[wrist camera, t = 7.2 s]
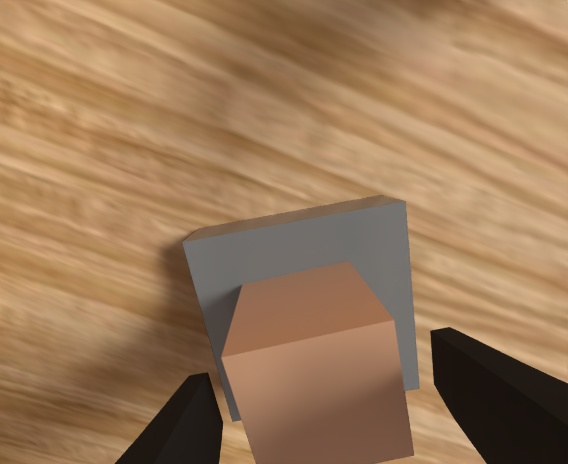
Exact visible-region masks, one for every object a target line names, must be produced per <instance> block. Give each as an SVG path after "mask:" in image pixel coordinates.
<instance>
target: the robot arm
mask: <svg viewBox="0 0 568 464" xmlns="http://www.w3.org/2000/svg"><path fill="white" fill-rule="evenodd" d="M430 333H431V347H432V362H433V376H434V385H435V387H436V388H437V390H438V392H439V394H440V396H441V397H442V399H443V401H444V403H445V404H446V406H447V408H448V409H449V411H450V413H451V414H452V416H453V418H454V419H455V420H456V422H457V423H458V425H459V426H460V428H461V429H462V430H463V432H464V433H465V434H466V436H467V437H468V439H469V440H470V441H471V443H472V444H473V445H474V447H475V448H476V450H477V451H478V452H479V454H480V455H481V456H482V458H483V459H484V460H485V462H486V463H487V464H568V383H566V382H563V381H561V380H559V379H557V378H554V377H552V376H550V375H548V374H546V373H544V372H541V371H539V370H537V369H535V368H533V367H531V366H529V365H527V364H524V363H522V362H520V361H518V360H516V359H514V358H512V357H510V356H508V355H506V354H504V353H502V352H500V351H498V350H496V349H494V348H492V347H490V346H488V345H486V344H484V343H482V342H480V341H478V340H476V339H474V338H472V337H470V336H467V335H465V334H463V333H461V332H459V331H457V330H455V329H453V328H450V327H448V328H442V329H437V330H432V331H430ZM222 430H223V421H222V417H221V414H220V411H219V408H218V404H217V401H216V398H215V394H214V391H213V388H212V384H211V381H210V378H209V374H208V372H207V373H201V374H196V375H191V376H189V377H188V378H187V379H186V380H185V381H184V382H183V384H182V385H181V386H180V387H179V388H178V390H177V391H176V392H175V393H174V394H173V396H172V397H171V398H170V399H169V401H168V402H167V403H166V404H165V406H164V407H163V408H162V409H161V410H160V412H159V413H158V414H157V415H156V416H155V418H154V419H153V420H152V421H151V422H150V424H149V425H148V426H147V427H146V428H145V430H144V431H143V432H142V433H141V434H140V436H139V437H138V438H137V439H136V440H135V441H134V443H133V444H132V445H131V446H130V447H129V448H128V449H127V450H126V451H125V453H124V454H123V455H122V456H121V457H120V458H119V459H118V460H117V462H116V463H115V464H219V458H220V450H221V441H222Z"/></svg>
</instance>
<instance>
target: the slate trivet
mask: <svg viewBox="0 0 568 464" xmlns="http://www.w3.org/2000/svg"><path fill="white" fill-rule="evenodd" d="M182 244H183V247H184V251H185V255H186V258H187V262H188V265H189V269H190V272H191V276H192V280H193V283H194V287H195V290H196V294H197V297H198V301H199V304H200V308H201V312H202V315H203V319H204V322H205V326H206V329H207V333H208V337H209V340H210V344H211V347H212V351H213V354H214V358H215V361H216V365H217V369H218V372H219V376H220V379H221V383H222V386H223V390H224V394H225V397H226V401H227V404H228V408H229V411H230V415H231V419H232V422H234V421H239V420H241V417H240V414H239V410H238V407H237V404H236V401H235V398H234V395H233V392H232V389H231V386H230V383H229V380H228V377H227V374H226V371H225V368H224V365H223V362H222V359H221V356H222V353H223V350H224V346H225V343H226V339H227V336H228V332H229V329H230V326H231V322H232V319H233V315H234V312H235V308H236V305H237V301H238V298H239V295H240V291H241V288H242V285H243V284H247V283H251V282H256V281H260V280H265V279H269V278H273V277H278V276H282V275H287V274H291V273H295V272H300V271H304V270H309V269H313V268H318V267H322V266H327V265H331V264H335V263H340V262H344V261H349V262H350V263H351V265H352V266H353V267H354V269H355V270H356V271H357V272H358V274H359V275H360V276H361V278H362V279H363V280H364V282H365V283H366V284H367V285H368V287H369V288H370V289H371V291H372V292H373V293H374V294H375V296H376V297H377V298H378V300H379V301H380V302H381V304H382V305H383V306H384V307H385V309H386V310H387V311H388V313H389V314H390V315H391V317H392V318H393V319H394V323H395V329H396V336H397V343H398V349H399V356H400V363H401V370H402V376H403V383H404V390H405V391H408V390H413V389H419V375H418V361H417V348H416V334H415V321H414V307H413V294H412V280H411V267H410V254H409V240H408V227H407V213H406V201H403V200H399V199H395V198H392V197H388V196H384V195H378V196H373V197H367V198H362V199H357V200H351V201H346V202H340V203H335V204H329V205H324V206H319V207H313V208H308V209H302V210H297V211H291V212H286V213H281V214H275V215H270V216H264V217H259V218H254V219H248V220H243V221H237V222H232V223H226V224H221V225H216V226H210V227H205V228H199V229H198V230H197V231H195V232H194V233H193V234H192V235H190V236H189V237H188V238H187V239H186V240H184V241H183V242H182Z"/></svg>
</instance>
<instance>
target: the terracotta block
mask: <svg viewBox="0 0 568 464" xmlns="http://www.w3.org/2000/svg"><path fill="white" fill-rule="evenodd" d="M221 359H222V362H223V365H224V368H225V371H226V374H227V377H228V380H229V383H230V386H231V389H232V392H233V395H234V398H235V401H236V404H237V407H238V410H239V414H240V417H241V420H242V423H243V426H244V429H245V432H246V435H247V438H248V441H249V444H250V447H251V450H252V453H253V456H254V459H255V462H256V464H375V463H380V462H384V461H389V460H394V459H399V458H404V457H409V456H414V450H413V443H412V437H411V430H410V423H409V416H408V410H407V403H406V396H405V390H404V383H403V376H402V370H401V363H400V356H399V349H398V343H397V336H396V329H395V323H394V319H393V318H392V317H391V315H390V314H389V313H388V311H387V310H386V309H385V307H384V306H383V305H382V304H381V302H380V301H379V300H378V298H377V297H376V296H375V294H374V293H373V292H372V291H371V289H370V288H369V287H368V285H367V284H366V283H365V282H364V280H363V279H362V278H361V276H360V275H359V274H358V272H357V271H356V270H355V269H354V267H353V266H352V265H351V263H350V262H349V261H344V262H340V263H335V264H331V265H327V266H322V267H318V268H313V269H309V270H304V271H300V272H295V273H291V274H287V275H282V276H278V277H273V278H269V279H265V280H260V281H256V282H251V283H247V284H243V285H242V288H241V291H240V295H239V298H238V301H237V305H236V308H235V312H234V315H233V319H232V322H231V326H230V329H229V332H228V336H227V339H226V343H225V346H224V350H223V353H222V356H221Z"/></svg>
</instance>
